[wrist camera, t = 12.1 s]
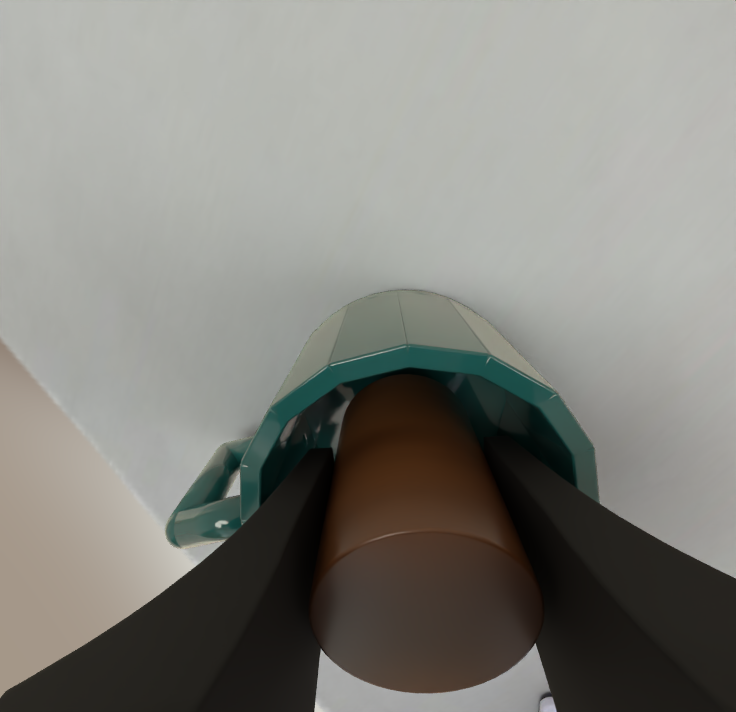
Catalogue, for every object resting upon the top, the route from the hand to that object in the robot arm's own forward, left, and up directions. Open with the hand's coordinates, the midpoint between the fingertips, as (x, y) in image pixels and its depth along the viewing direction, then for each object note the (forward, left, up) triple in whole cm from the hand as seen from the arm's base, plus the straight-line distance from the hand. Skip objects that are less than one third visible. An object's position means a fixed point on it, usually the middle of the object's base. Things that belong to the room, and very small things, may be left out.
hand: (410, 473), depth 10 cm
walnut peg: (0, 0, -2) cm, 2 cm away
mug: (0, +1, -5) cm, 5 cm away
